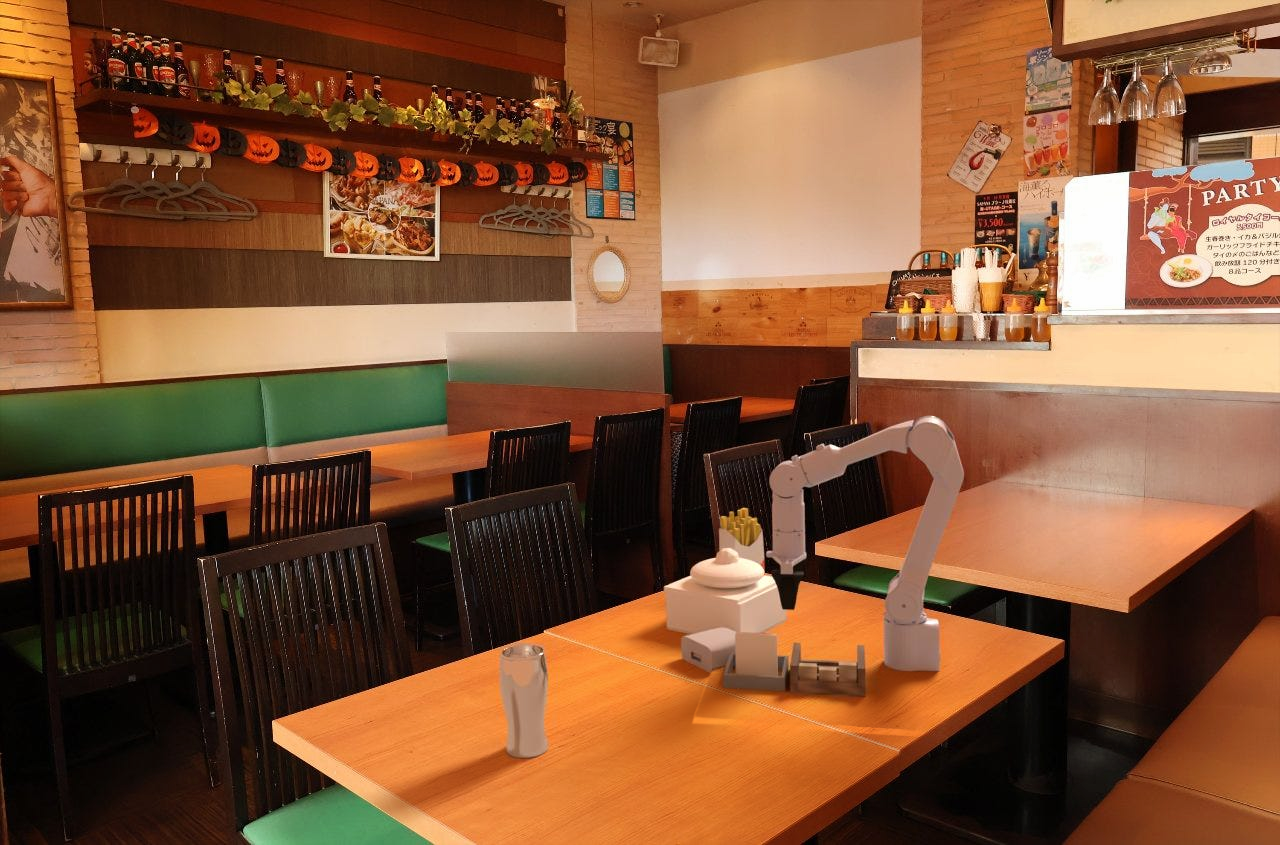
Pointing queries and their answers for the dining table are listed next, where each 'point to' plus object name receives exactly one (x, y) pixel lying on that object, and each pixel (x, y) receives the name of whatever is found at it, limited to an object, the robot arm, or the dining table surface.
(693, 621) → the white lidded square jar
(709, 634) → the charger
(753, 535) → the french fries container
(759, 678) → the tray
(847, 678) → the offcuts
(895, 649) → the robot arm
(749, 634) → the sheet
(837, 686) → the rack
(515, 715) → the beer glass
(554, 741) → the dining table surface
